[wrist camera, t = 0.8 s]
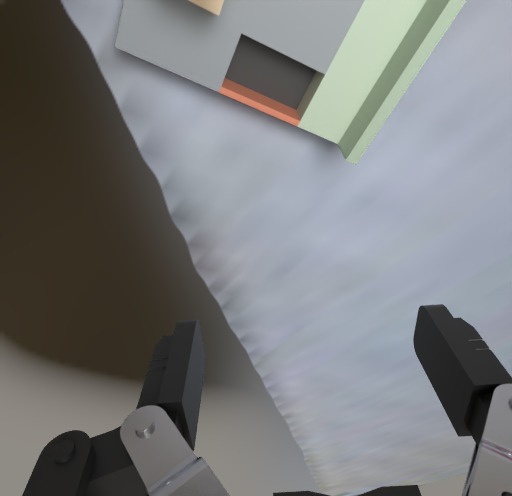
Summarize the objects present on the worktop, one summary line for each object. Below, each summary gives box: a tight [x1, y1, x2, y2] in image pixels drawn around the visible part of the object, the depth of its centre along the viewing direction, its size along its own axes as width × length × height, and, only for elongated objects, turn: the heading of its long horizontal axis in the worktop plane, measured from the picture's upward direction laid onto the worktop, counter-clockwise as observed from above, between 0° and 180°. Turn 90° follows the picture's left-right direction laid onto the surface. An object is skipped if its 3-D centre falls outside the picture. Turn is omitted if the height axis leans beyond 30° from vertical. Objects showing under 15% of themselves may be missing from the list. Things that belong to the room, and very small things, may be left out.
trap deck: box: [115, 0, 467, 165], centre depth 26 cm, size 20×15×6 cm
